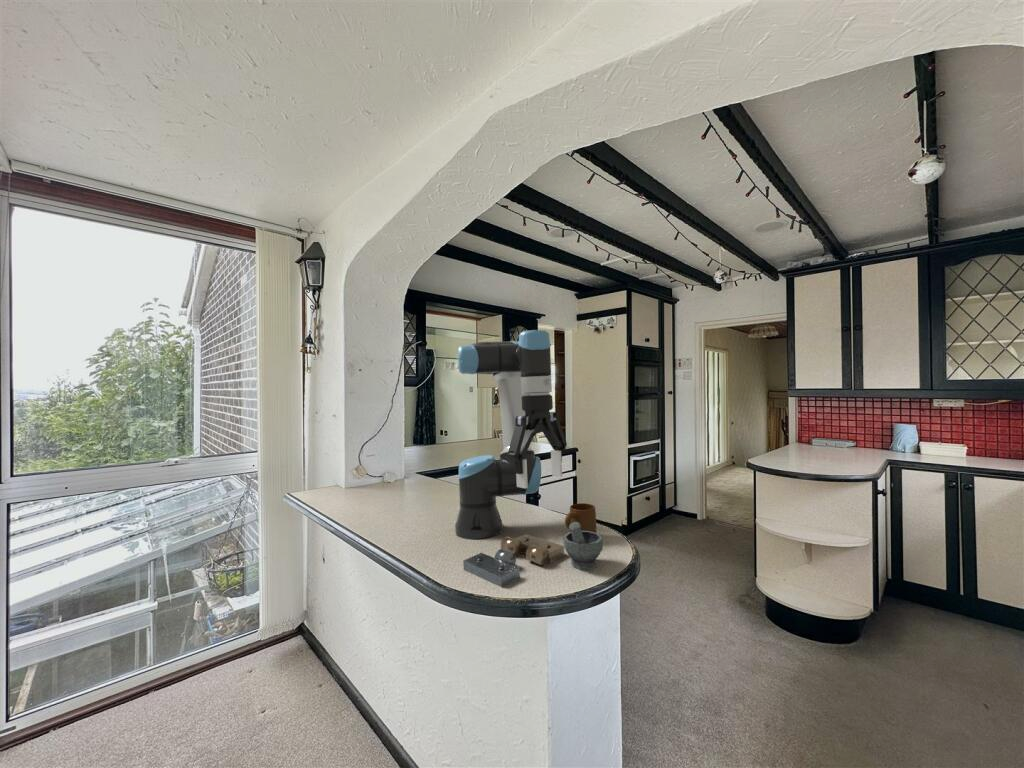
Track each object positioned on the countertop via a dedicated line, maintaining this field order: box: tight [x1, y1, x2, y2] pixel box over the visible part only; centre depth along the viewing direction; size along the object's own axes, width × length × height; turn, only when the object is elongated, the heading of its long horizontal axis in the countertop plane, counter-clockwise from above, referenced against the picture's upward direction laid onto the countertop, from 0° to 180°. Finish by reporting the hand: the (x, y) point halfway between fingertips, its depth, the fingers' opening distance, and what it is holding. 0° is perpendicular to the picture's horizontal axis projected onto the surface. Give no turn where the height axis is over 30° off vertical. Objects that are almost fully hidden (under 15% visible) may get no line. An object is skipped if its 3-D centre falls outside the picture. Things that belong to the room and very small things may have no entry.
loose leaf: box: [462, 548, 521, 588], centre depth 102 cm, size 14×10×4 cm
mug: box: [564, 502, 598, 533], centre depth 119 cm, size 12×8×9 cm, turn 136°
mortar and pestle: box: [562, 522, 604, 571], centre depth 103 cm, size 11×9×12 cm
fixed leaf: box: [500, 534, 565, 566], centre depth 111 cm, size 14×10×4 cm
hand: (540, 481), depth 99 cm, fingers open, 13 cm apart
